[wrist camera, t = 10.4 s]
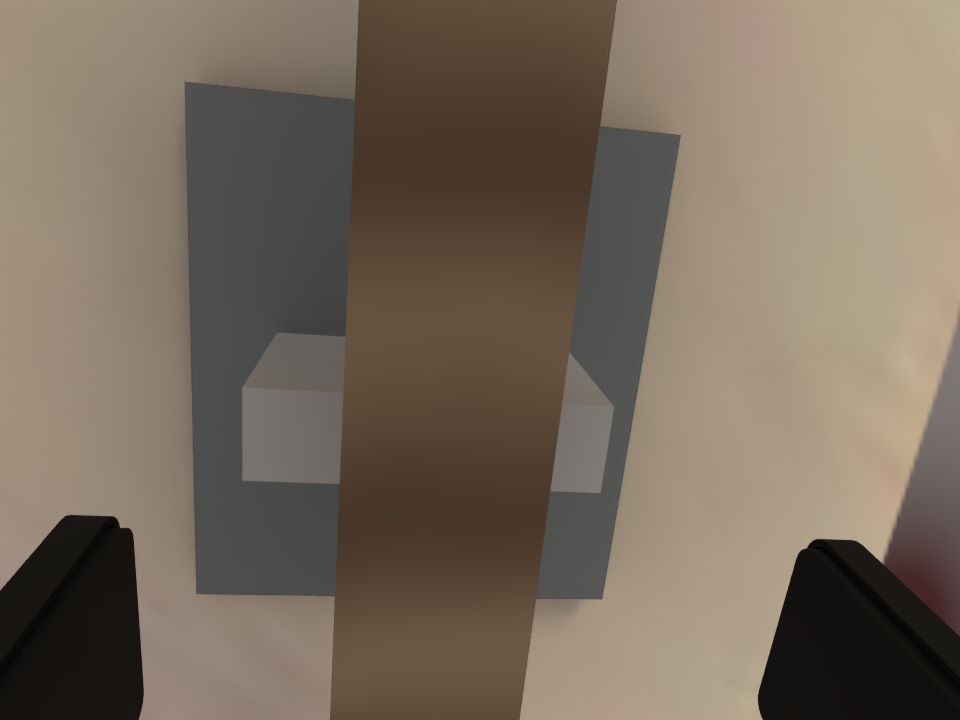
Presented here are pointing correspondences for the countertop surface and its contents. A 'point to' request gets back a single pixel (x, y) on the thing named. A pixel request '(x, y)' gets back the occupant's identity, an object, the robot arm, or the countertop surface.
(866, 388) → the countertop surface
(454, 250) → the walnut bar
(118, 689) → the robot arm
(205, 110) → the slate board
